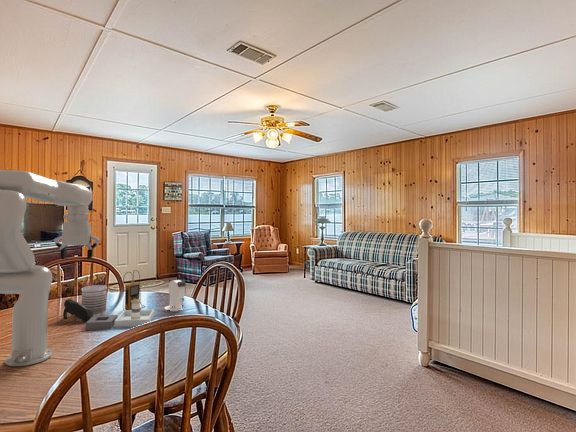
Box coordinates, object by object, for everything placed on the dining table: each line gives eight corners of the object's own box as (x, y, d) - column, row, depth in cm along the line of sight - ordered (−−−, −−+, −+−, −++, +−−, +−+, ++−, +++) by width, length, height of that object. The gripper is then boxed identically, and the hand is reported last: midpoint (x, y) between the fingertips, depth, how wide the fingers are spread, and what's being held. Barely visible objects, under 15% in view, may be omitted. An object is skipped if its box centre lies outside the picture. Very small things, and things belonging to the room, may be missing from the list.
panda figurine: (191, 308, 179) (192, 280, 179) (171, 312, 171) (172, 283, 171) (180, 304, 187) (180, 277, 187) (160, 307, 179) (161, 279, 179)
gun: (83, 334, 154) (92, 315, 153) (57, 315, 156) (65, 296, 156) (88, 331, 157) (97, 313, 156) (62, 313, 159) (71, 295, 158)
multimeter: (134, 314, 166) (135, 274, 166) (118, 312, 170) (119, 272, 170) (155, 307, 180) (156, 269, 180) (140, 305, 183) (141, 268, 183)
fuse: (139, 320, 155) (139, 301, 155) (129, 321, 154) (130, 301, 154) (141, 318, 158) (141, 298, 158) (131, 318, 158) (132, 299, 158)
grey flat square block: (111, 328, 145) (111, 321, 145) (85, 329, 143) (85, 322, 143) (117, 321, 155) (117, 314, 155) (93, 322, 153) (93, 315, 153)
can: (111, 308, 176) (111, 285, 176) (97, 314, 165) (97, 290, 165) (90, 307, 177) (91, 284, 177) (75, 313, 166) (75, 289, 166)
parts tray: (148, 326, 150) (148, 319, 150) (114, 327, 147) (114, 320, 147) (154, 315, 165) (154, 309, 165) (123, 316, 162) (123, 310, 162)
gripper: (50, 218, 137) (49, 260, 137) (97, 218, 141) (96, 259, 141) (58, 217, 144) (57, 257, 144) (102, 218, 148) (102, 257, 148)
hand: (76, 258), depth 142 cm, fingers open, 9 cm apart
